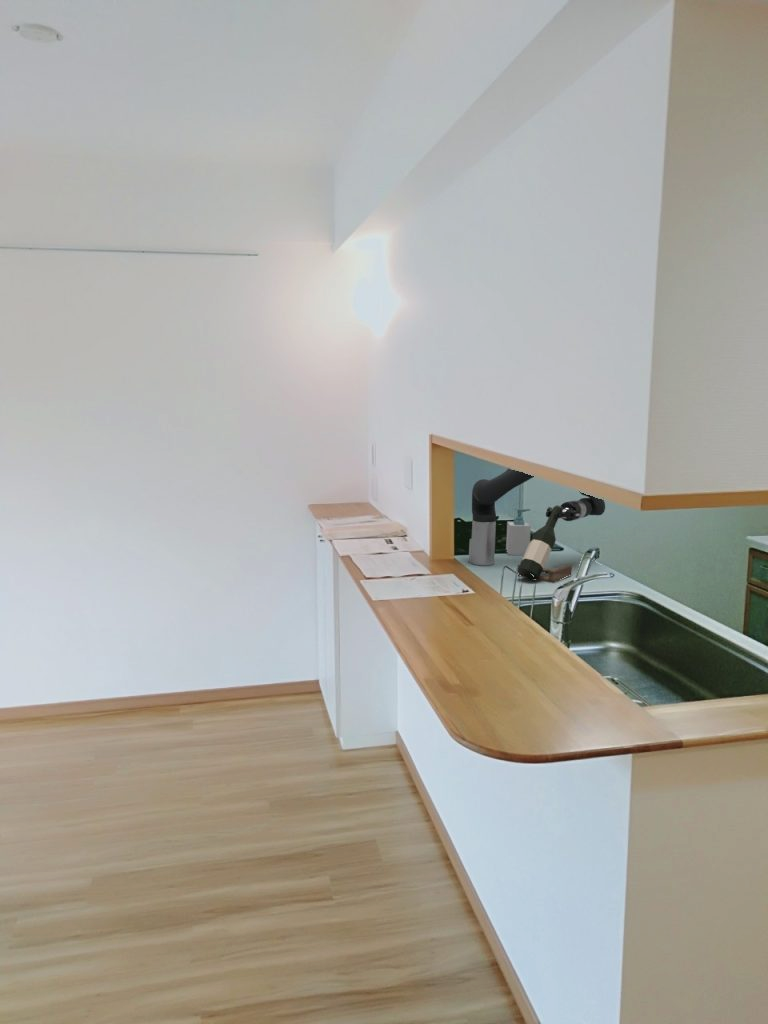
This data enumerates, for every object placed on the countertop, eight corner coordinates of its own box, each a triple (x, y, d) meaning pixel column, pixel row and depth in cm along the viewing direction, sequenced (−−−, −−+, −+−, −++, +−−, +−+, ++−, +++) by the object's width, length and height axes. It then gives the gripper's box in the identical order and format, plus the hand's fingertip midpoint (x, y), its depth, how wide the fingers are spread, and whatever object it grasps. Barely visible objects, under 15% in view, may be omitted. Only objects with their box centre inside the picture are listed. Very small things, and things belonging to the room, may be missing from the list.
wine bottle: (538, 582, 290) (568, 515, 301) (539, 573, 283) (569, 505, 294) (517, 574, 293) (547, 508, 304) (517, 565, 286) (548, 498, 297)
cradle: (517, 575, 296) (517, 565, 295) (535, 569, 307) (536, 559, 306) (553, 582, 287) (554, 572, 286) (571, 575, 297) (571, 565, 297)
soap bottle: (529, 555, 330) (532, 510, 327) (508, 555, 330) (510, 510, 327) (526, 551, 338) (528, 507, 335) (505, 550, 338) (508, 506, 335)
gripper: (557, 498, 313) (535, 502, 300) (590, 503, 304) (569, 507, 291) (556, 517, 314) (534, 522, 301) (589, 522, 305) (568, 527, 292)
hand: (551, 515), depth 296 cm, fingers closed on wine bottle, 3 cm apart
